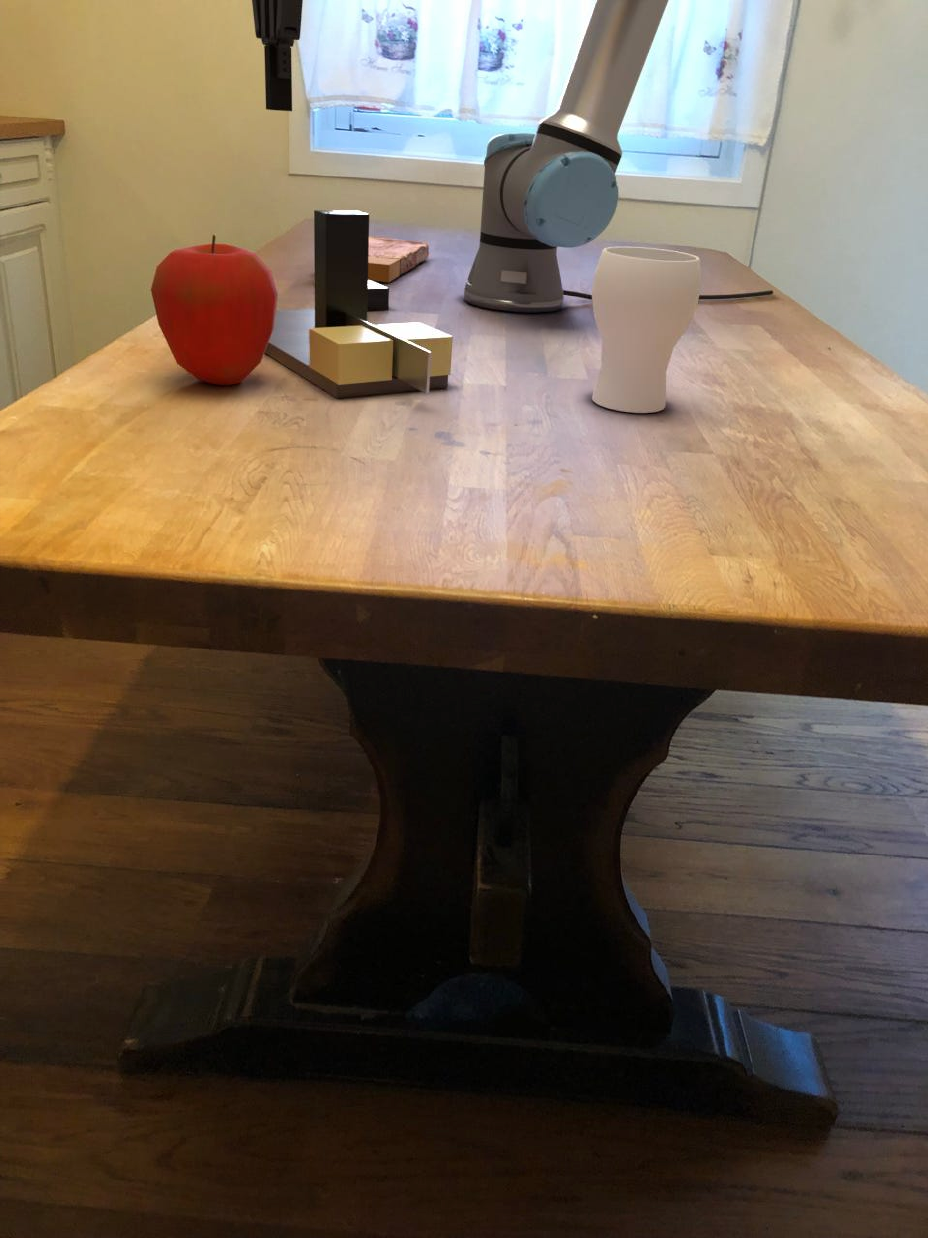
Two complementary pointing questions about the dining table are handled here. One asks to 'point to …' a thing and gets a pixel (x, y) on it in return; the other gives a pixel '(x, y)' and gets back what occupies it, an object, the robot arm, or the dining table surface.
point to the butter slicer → (355, 288)
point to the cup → (641, 322)
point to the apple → (215, 310)
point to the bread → (393, 257)
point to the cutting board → (294, 353)
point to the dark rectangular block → (377, 297)
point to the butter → (373, 351)
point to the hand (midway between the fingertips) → (279, 109)
